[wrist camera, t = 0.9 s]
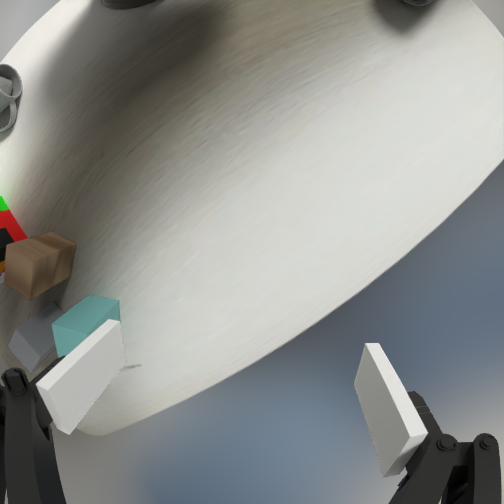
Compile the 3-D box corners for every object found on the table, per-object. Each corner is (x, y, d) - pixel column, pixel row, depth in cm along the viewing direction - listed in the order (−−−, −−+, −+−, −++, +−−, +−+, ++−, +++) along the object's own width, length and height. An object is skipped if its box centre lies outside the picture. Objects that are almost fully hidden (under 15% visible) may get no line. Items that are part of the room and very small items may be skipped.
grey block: (53, 301, 34) (15, 328, 25) (74, 325, 35) (40, 357, 26) (42, 319, 35) (7, 346, 25) (62, 341, 36) (30, 373, 26)
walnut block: (51, 231, 32) (6, 244, 22) (76, 244, 33) (33, 260, 23) (46, 263, 33) (4, 282, 23) (70, 276, 34) (30, 300, 24)
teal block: (88, 294, 34) (51, 323, 25) (119, 300, 35) (86, 333, 25) (91, 326, 35) (59, 360, 26) (121, 332, 36) (92, 370, 26)
